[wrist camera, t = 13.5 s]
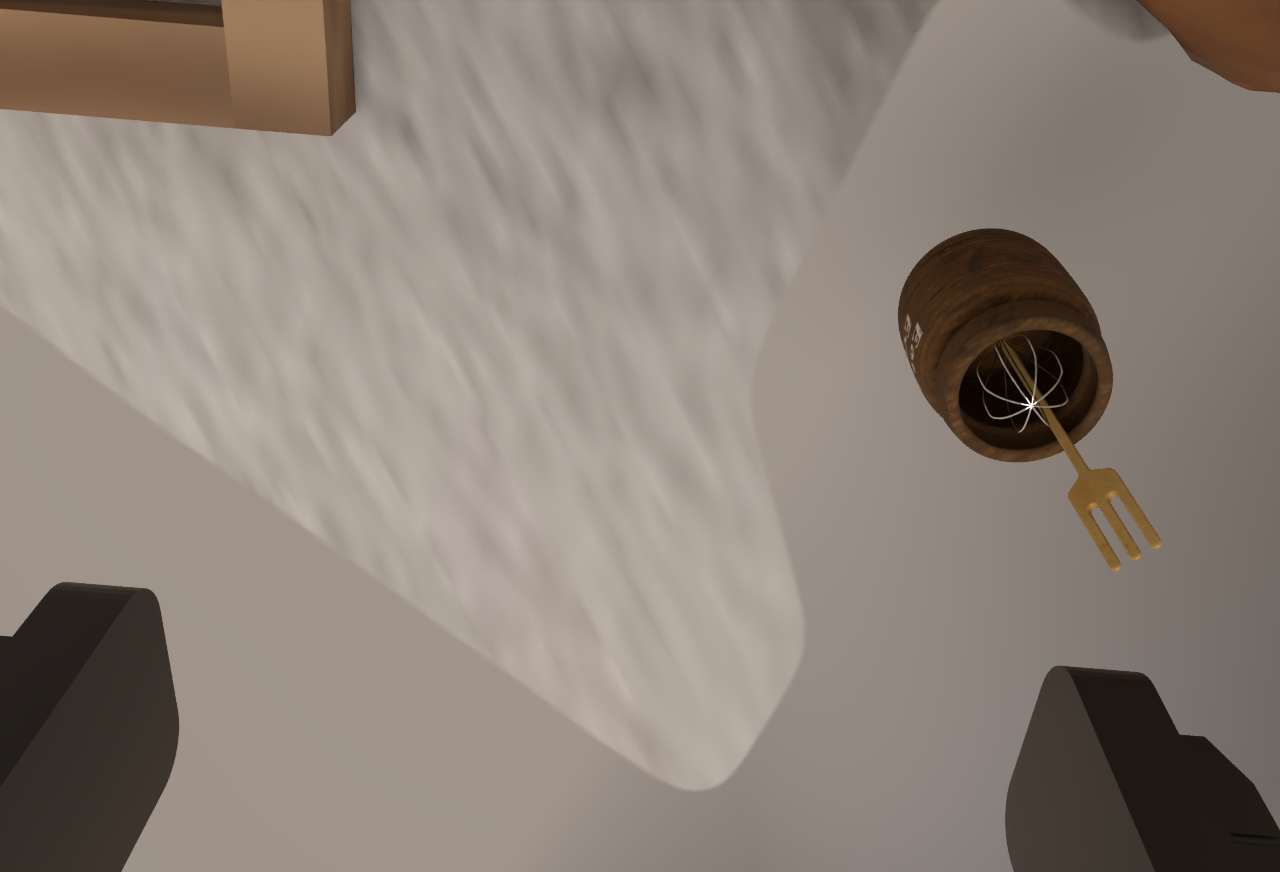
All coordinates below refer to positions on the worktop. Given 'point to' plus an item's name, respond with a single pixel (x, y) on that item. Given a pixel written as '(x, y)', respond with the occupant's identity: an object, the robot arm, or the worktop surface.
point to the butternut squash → (1227, 37)
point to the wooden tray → (182, 62)
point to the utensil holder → (1015, 362)
